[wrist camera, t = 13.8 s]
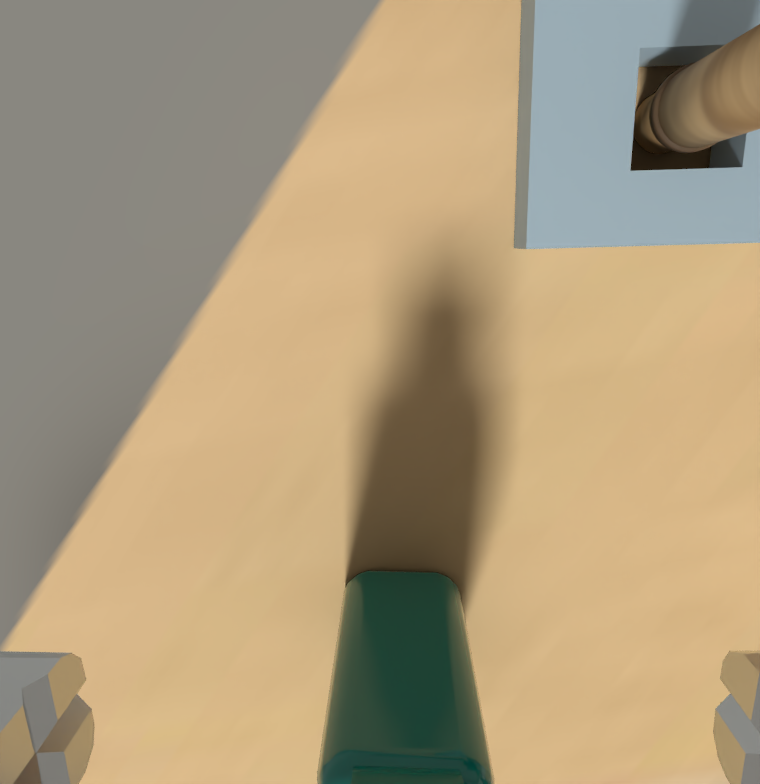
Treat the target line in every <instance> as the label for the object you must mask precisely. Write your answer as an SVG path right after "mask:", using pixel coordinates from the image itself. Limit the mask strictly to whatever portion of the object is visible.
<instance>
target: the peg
mask: <svg viewBox="0 0 760 784" xmlns="http://www.w3.org/2000/svg"><path fill="white" fill-rule="evenodd" d="M758 129H760V24H759V25H757V26H756V27H754V28H752V29H751V30H749V31H747V32H746V33H744V34H742V35H741V36H739V37H737V38H736V39H734V40H732V41H731V42H729V43H727V44H726V45H724V46H722V47H721V48H719V49H717V50H716V51H714V52H712V53H711V54H709V55H707V56H706V57H704V58H702V59H700V60H699V61H697V62H694V63H690V64H688V65H685V66H683V67H681V68H680V69H678V70H676V71H675V72H673V73H672V74H671V75H669V76H668V77H667V78H666V79H665V80H664V81H663V82H662V84H661V85H660V86H659V88H658V90H657V91H656V93H654V94H652V95H651V96H649V97H648V98H646V99H645V100H644V101H643V102H642V103H641V104H640V106H639V107H638V109H637V111H636V113H635V118H634V131H633V133H634V137H635V139H636V141H637V143H638V144H639V145H640V146H641V147H642V148H643V149H644V150H646V151H648V152H651V153H655V154H661V153H666V152H670V151H676V152H680V153H692V152H696V151H700V150H703V149H706V148H709V147H711V146H713V145H714V144H716V143H717V142H719V141H723V140H726V139H729V138H732V137H735V136H739V135H742V134H745V133H748V132H752V131H755V130H758Z"/></svg>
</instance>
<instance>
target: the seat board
mask: <svg viewBox="0 0 760 784" xmlns="http://www.w3.org/2000/svg"><path fill="white" fill-rule="evenodd" d="M759 24H760V0H522V4H521V36H520V69H519V101H518V134H517V166H516V198H515V231H514V248H517V249H544V248H580V247H617V246H653V245H689V244H726V243H760V129H758V130H755V131H752V132H748V133H745V134H742V135H739V136H735V137H732V138H729V139H726V140H723V141H719V142H717V143H716V144H714V145H713V146H711V155H710V164H709V168H702V169H671V170H639V171H630V170H631V157H632V144H633V131H634V118H635V106H636V93H637V80H638V67H648V66H675V65H688V64H690V63H694V62H697V61H699V60H700V59H702V58H704V57H706V56H707V55H709V54H711V53H712V52H714V51H716V50H717V49H719V48H721V47H722V46H724V45H726V44H727V43H729V42H731V41H732V40H734V39H736V38H737V37H739V36H741V35H742V34H744V33H746V32H747V31H749V30H751V29H752V28H754V27H756V26H757V25H759Z"/></svg>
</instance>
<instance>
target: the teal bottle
mask: <svg viewBox="0 0 760 784" xmlns="http://www.w3.org/2000/svg"><path fill="white" fill-rule="evenodd" d="M317 784H494V775H493V769H492V764H491V758H490V753H489V747H488V742H487V737H486V731H485V726H484V720H483V715H482V709H481V704H480V698H479V693H478V688H477V682H476V677H475V671H474V666H473V660H472V655H471V649H470V644H469V638H468V633H467V628H466V622H465V617H464V611H463V606H462V600H461V595H460V592H459V590H458V588H457V585H456V584H455V583H454V582H453V581H452V580H450V579H449V578H448V577H447V576H445V575H442V574H440V573H437V572H400V571H366V572H363V573H360V574H358V575H356V576H355V577H354V578H353V579H352V580H351V581H350V582H348V584H347V586H346V589H345V591H344V595H343V602H342V609H341V615H340V622H339V629H338V636H337V642H336V649H335V656H334V663H333V669H332V676H331V683H330V690H329V697H328V703H327V710H326V717H325V724H324V730H323V737H322V744H321V751H320V757H319V764H318V771H317Z"/></svg>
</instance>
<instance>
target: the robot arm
mask: <svg viewBox="0 0 760 784" xmlns="http://www.w3.org/2000/svg"><path fill="white" fill-rule="evenodd" d="M720 679H721V681H722V682H723V683H724V685H725V686H726V688H727V689H728V691H729V692H730V695H729V696H728V697H727V698H726V699H725V700H724V701H723V702H722V703H721V704H720V705H719V706H718V707H717V708H716V709H715V719H714V730H713V733H714V739H715V744H716V749H717V754H718V758H719V761H720V763H721V766H722V768H723V771H724V773H725V775H726V778H727V779H728V781H729V783H730V784H760V651H729V653H728V654H727V656H726V657H725V659H724V660H723V664H722V670H721V676H720ZM85 681H86V677H85V673H84V669H83V664H82V660H81V658H80V657H78V656H76V655H74V654H72V653H50V652H3V651H0V784H79V782H80V780H81V779H82V777H83V775H84V773H85V771H86V768H87V765H88V761H89V758H90V755H91V751H92V748H93V742H94V720H93V714H92V709H91V708H90V707H89V706H88V705H87V704H86V703H85V702H84V701H83V700H82V699H81V698H80V697H79V696H78V695H77V694H78V692H79V690H80V689H81V687H82V686H83V684H84V683H85Z"/></svg>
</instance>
